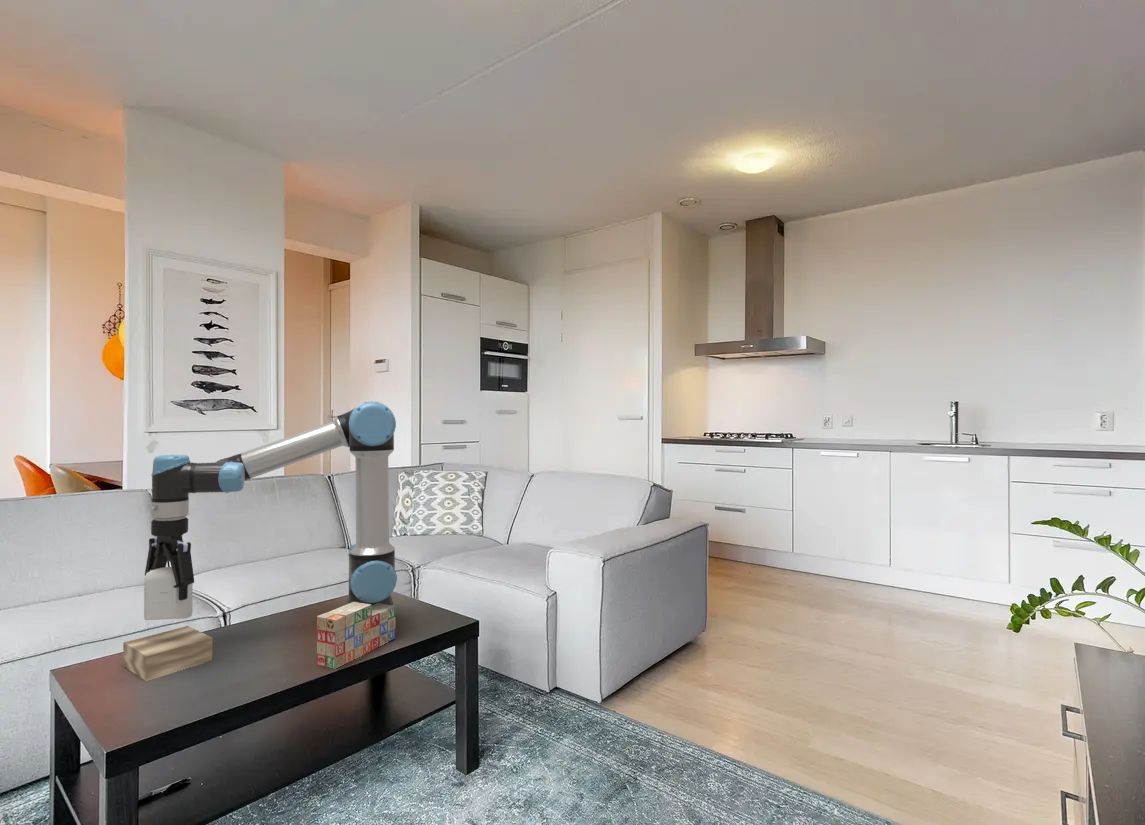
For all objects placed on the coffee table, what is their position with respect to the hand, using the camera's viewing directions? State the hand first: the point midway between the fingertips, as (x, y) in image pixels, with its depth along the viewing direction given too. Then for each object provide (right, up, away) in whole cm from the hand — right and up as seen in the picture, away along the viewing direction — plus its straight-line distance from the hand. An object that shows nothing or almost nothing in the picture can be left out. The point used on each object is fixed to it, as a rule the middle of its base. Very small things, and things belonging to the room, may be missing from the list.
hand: (168, 609), depth 144 cm
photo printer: (0, -2, 0) cm, 2 cm away
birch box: (0, -14, 0) cm, 14 cm away
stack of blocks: (+44, -14, +8) cm, 46 cm away
